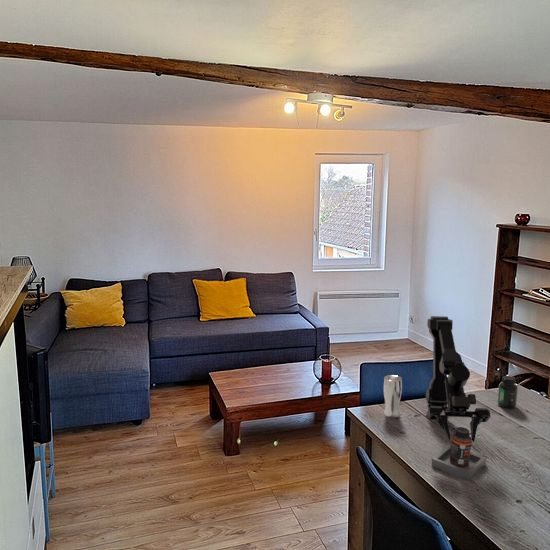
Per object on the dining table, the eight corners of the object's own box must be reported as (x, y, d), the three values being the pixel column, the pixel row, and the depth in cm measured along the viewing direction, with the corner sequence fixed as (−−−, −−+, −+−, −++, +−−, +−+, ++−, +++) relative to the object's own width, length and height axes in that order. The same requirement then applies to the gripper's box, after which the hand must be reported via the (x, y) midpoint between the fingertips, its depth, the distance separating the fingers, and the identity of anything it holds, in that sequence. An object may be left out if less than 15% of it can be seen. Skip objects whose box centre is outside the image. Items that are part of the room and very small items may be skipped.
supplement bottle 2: (500, 408, 203) (502, 380, 201) (495, 401, 209) (497, 374, 207) (518, 409, 202) (520, 381, 200) (512, 402, 209) (515, 375, 206)
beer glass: (401, 412, 200) (403, 376, 198) (400, 419, 194) (401, 382, 191) (383, 409, 203) (385, 374, 200) (381, 416, 196) (382, 380, 194)
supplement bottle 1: (465, 470, 157) (469, 436, 155) (446, 463, 161) (449, 430, 159) (471, 462, 162) (475, 429, 160) (452, 455, 166) (456, 423, 164)
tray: (431, 466, 161) (431, 458, 161) (448, 451, 170) (449, 444, 170) (469, 481, 153) (470, 473, 152) (485, 465, 162) (486, 457, 161)
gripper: (430, 382, 162) (435, 431, 153) (490, 385, 160) (499, 434, 151) (424, 395, 171) (429, 442, 162) (482, 398, 169) (489, 445, 160)
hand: (461, 440), depth 159 cm, fingers open, 7 cm apart
